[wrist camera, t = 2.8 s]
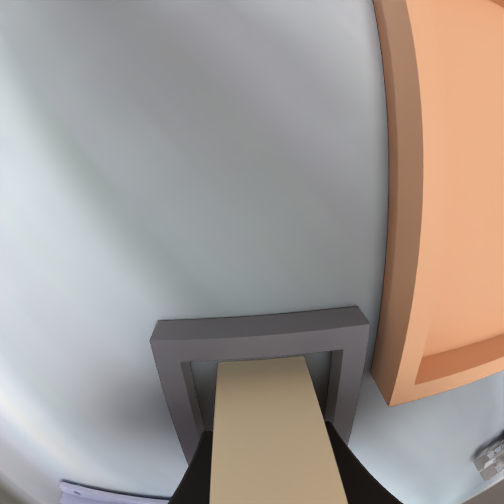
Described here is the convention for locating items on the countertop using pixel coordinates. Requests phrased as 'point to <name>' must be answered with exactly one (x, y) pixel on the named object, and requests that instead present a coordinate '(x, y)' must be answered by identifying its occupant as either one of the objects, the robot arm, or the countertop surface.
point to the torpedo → (490, 463)
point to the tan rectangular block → (271, 437)
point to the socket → (260, 346)
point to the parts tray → (442, 196)
